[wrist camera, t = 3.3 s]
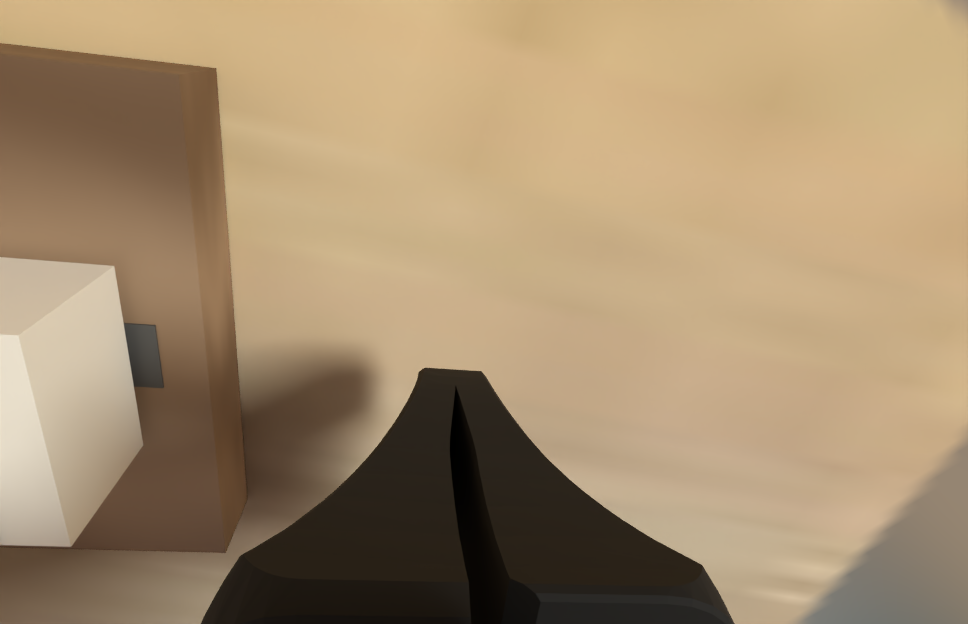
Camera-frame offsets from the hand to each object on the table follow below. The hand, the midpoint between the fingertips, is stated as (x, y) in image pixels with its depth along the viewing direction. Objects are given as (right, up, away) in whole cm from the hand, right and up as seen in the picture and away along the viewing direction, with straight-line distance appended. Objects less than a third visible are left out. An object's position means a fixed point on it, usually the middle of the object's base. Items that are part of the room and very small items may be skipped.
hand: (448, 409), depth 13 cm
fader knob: (-8, +1, 0) cm, 8 cm away
